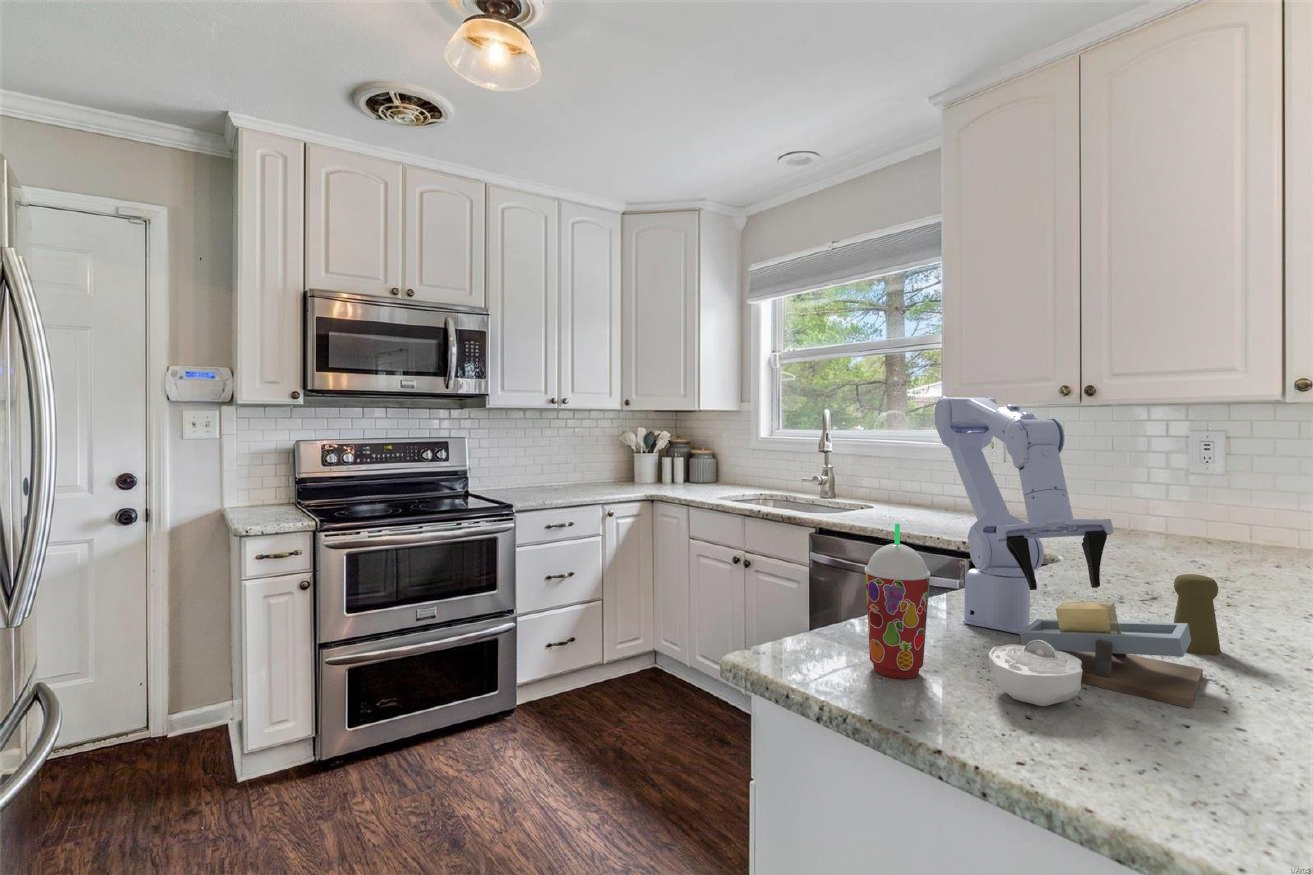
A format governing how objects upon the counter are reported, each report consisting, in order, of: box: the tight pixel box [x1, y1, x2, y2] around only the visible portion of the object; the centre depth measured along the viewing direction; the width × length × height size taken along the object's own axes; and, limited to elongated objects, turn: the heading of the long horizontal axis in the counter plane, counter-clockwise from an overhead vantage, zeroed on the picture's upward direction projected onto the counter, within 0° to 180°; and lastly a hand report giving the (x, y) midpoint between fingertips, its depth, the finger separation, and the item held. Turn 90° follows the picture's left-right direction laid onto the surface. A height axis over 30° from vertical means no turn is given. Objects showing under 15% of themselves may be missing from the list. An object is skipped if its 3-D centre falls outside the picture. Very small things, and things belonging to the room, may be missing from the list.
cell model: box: [988, 640, 1083, 707], centre depth 80 cm, size 10×12×7 cm
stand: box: [1057, 640, 1204, 709], centre depth 90 cm, size 20×14×5 cm
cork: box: [1173, 573, 1222, 656], centre depth 99 cm, size 6×6×11 cm
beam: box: [1019, 618, 1191, 658], centre depth 90 cm, size 18×9×2 cm, turn 46°
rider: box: [1055, 601, 1120, 634], centre depth 91 cm, size 6×5×4 cm
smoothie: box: [864, 523, 931, 680], centre depth 89 cm, size 8×8×20 cm
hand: (1064, 588), depth 93 cm, fingers open, 7 cm apart
